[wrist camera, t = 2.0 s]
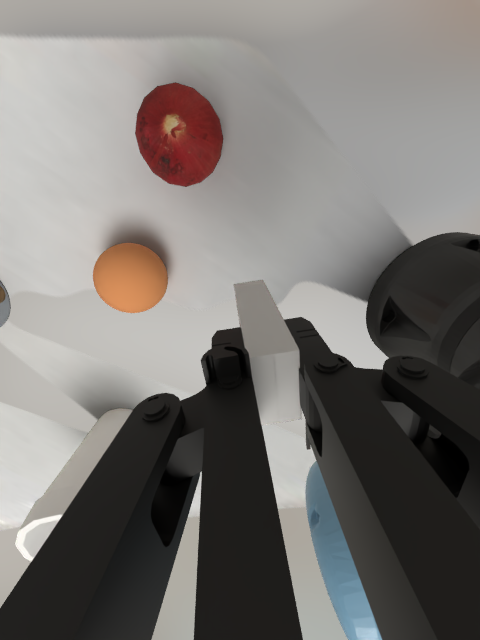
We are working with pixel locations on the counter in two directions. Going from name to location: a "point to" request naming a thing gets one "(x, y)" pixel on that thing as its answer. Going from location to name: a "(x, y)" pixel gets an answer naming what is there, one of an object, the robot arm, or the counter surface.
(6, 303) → the pin spot
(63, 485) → the foam cup
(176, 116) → the onion
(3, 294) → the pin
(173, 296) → the counter surface
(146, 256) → the ball
